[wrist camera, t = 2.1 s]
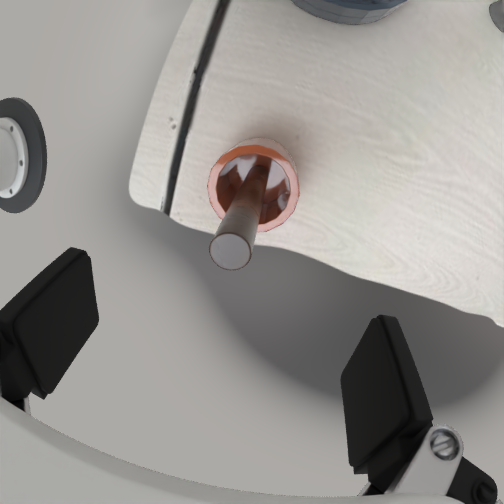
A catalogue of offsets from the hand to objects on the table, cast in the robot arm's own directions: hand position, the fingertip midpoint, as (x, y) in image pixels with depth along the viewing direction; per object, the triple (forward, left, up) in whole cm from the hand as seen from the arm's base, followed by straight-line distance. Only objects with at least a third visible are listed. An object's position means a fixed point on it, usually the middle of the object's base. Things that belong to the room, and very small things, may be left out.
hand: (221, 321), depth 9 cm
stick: (-1, -1, -24) cm, 24 cm away
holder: (-1, -1, -25) cm, 25 cm away
